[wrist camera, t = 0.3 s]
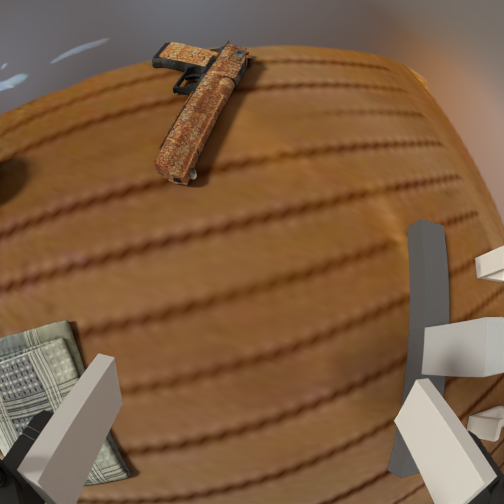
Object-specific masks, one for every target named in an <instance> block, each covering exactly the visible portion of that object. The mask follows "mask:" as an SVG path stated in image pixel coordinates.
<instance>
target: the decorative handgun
mask: <svg viewBox="0 0 504 504" xmlns="http://www.w3.org/2000/svg"><path fill="white" fill-rule="evenodd" d="M248 54H249V52H248V51H247V49H246V48H245V49H244V48H241V47H237V46H234V45H231V44H229V41H228V42H227V44H226V45H225V46H223V47H221V48H218V49H202V48H198V47H193V46H188V45H184V44H182V43H177V42H171V43H165V44H164V46H163V47H162V48H161V49H160V50H159V51H158V52H157V53H156V55H155V56H154V57H153V60H152V66H153V67H154V68H159V67H165V68H170V69H175V70H179V71H184V73H183V75H182V76H181V77H180V79H179V80H178V81H177V83H176V84H175V86H174V87H173V92H174V93H184V94H186V95H188V99H187V100H186V102H185V104H184V105H183V107H182V109H181V110H180V112H179V114H178V115H177V117H176V119H175V121H174V122H173V124H172V126H171V127H170V129H169V131H168V133H167V134H166V136H165V138H164V141H163V142H162V144H161V145H160V147H159V148H160V152H159V154H158V155H157V157H156V159H155V161H154V163H155V166H156V169H157V171H158V173H159V174H161V175H162V176H164V177H165V178H167V179H168V180H169V181H171V182H172V183H174V184H183V185H185V186H187V184H188V182H189V180H190V179H193V180H194V179H196V177H197V174H196V170H195V169H194V168H195V165H196V163H197V161H198V158H199V156H200V154H201V152H202V150H203V147H204V145H205V143H206V141H207V139H208V137H209V135H210V133H211V131H212V129H213V127H214V125H215V123H216V121H217V119H218V116H219V115H220V113H221V111H222V109H223V107H224V105H225V104H226V102H227V100H228V98H229V96H230V95H231V93H232V91H234V90H235V89H236V87H237V85H238V83H239V81H240V79H241V78H242V76H243V74H244V72H245V69H248V68H250V67H252V65H253V62H252V61H253V56H251V55H248ZM184 79H185V80H189V79H199V80H198V82H197V83H190V84H188V85H187V86H186V87H179V86H180V85H181V83H182V82H183V81H184Z"/></svg>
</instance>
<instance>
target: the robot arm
mask: <svg viewBox="0 0 504 504" xmlns="http://www.w3.org/2000/svg"><path fill="white" fill-rule="evenodd" d="M122 404H123V402H122V397H121V392H120V387H119V382H118V376H117V370H116V364H115V358H114V357H110V356H106V355H103V354H98V355H97V356H96V358H95V359H94V360H93V361H92V363H91V364H90V365H89V367H88V368H87V369H86V371H85V372H84V373H83V375H82V376H81V377H80V379H79V380H78V381H77V383H76V384H75V385H74V387H73V388H72V389H71V391H70V392H69V394H68V395H67V396H66V398H65V399H64V400H63V402H62V403H61V405H60V406H59V408H58V409H57V410H56V412H55V413H54V414H53V413H51V412H49V411H46V410H43V411H41V412H40V413H38V414H36V415H35V416H34V417H33V418H32V419H31V421H30V422H29V423H28V425H27V427H25V429H24V430H23V432H22V434H20V436H19V437H18V439H17V440H16V441H15V443H14V444H13V446H12V447H11V449H10V450H9V451H8V453H7V454H6V456H5V457H4V459H3V460H1V459H0V504H45V502H46V503H47V504H76V503H77V500H78V498H79V496H80V493H81V491H82V489H83V487H84V484H85V482H86V480H87V478H88V475H89V473H90V471H91V469H92V467H93V464H94V462H95V460H96V458H97V456H98V454H99V452H100V449H101V447H102V445H103V443H104V441H105V439H106V437H107V435H108V433H109V431H110V429H111V427H112V424H113V422H114V420H115V418H116V416H117V414H118V412H119V410H120V408H121V406H122ZM394 421H395V423H396V425H397V427H398V429H399V431H400V433H401V435H402V437H403V439H404V441H405V443H406V445H407V447H408V449H409V451H410V453H411V455H412V457H413V459H414V461H415V463H416V465H417V467H418V469H419V471H420V473H421V475H422V477H423V480H424V482H425V484H426V486H427V488H428V490H429V492H430V495H431V497H432V499H433V501H434V503H435V504H504V474H503V473H502V472H501V471H500V469H499V468H498V466H497V464H496V463H495V461H494V460H493V458H492V457H491V455H490V454H489V453H488V452H487V450H486V448H485V447H484V446H483V444H482V442H481V441H480V439H479V438H478V437H477V436H476V435H475V434H474V433H472V432H471V431H470V430H469V431H467V430H466V429H465V427H464V426H463V425H462V423H461V422H460V420H459V419H458V418H457V416H456V415H455V413H454V412H453V411H452V409H451V408H450V407H449V405H448V404H447V402H446V401H445V400H444V398H443V397H442V396H441V394H440V393H439V392H438V390H437V389H436V388H435V386H434V385H433V384H432V383H431V381H430V380H429V379H428V378H427V379H418V380H416V381H415V383H414V385H413V387H412V389H411V391H410V393H409V395H408V397H407V399H406V401H405V403H404V404H403V406H402V408H401V410H400V412H399V413H398V415H397V417H396V419H395V420H394Z"/></svg>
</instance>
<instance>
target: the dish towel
mask: <svg viewBox="0 0 504 504" xmlns="http://www.w3.org/2000/svg"><path fill="white" fill-rule="evenodd" d="M84 372H85V368H84V364H83V362H82V359H81V355H80V352H79V350H78V346H77V344H76V342H75V339H74V336H73V332H72V330H71V327H70V324H69V322H68V320H64V321H60V322H55V323H52V324H48V325H45V326H42V327H38V328H36V329H31V330H28V331H25V332H21V333H18V334H14V335H9V336H6V337H2V338H0V449H1V451H2V452H3V454H4V456H6V454H7V453H8V451H9V450H10V449H11V447H12V446H13V444H14V443H15V441H16V440H17V439H18V437H19V436H20V434H22V432H23V430H24V429H25V427H27V425H28V423H29V422H30V421H31V419H32V418H33V417H34V416H35V415H36V414H38V413H40V412H41V411H43V410H46V411H49V412H51V413H53V414H54V413H55V412H56V410H57V409H58V408H59V406H60V405H61V403H62V402H63V400H64V399H65V398H66V396H67V395H68V394H69V392H70V391H71V389H72V388H73V387H74V385H75V384H76V383H77V381H78V380H79V379H80V377H81V376H82V375H83V373H84ZM130 475H131V472H130V471H129V469H128V468H127V466H126V464H125V462H124V460H123V458H122V457H121V454H120V452H119V450H118V448H117V446H116V444H115V442H114V440H113V438H112V436H111V434H110V432H109V433H108V435H107V437H106V439H105V441H104V443H103V445H102V447H101V449H100V452H99V454H98V456H97V458H96V460H95V462H94V464H93V467H92V469H91V471H90V473H89V475H88V478H87V480H86V482H85V484H84V485H93V484H99V483H106V482H111V481H116V480H121V479H126V478H128V477H129V476H130Z"/></svg>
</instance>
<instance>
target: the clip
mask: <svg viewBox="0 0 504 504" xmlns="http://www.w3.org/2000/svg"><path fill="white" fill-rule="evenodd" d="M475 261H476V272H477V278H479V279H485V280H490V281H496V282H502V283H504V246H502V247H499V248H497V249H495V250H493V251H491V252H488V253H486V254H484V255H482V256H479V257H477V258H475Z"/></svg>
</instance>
